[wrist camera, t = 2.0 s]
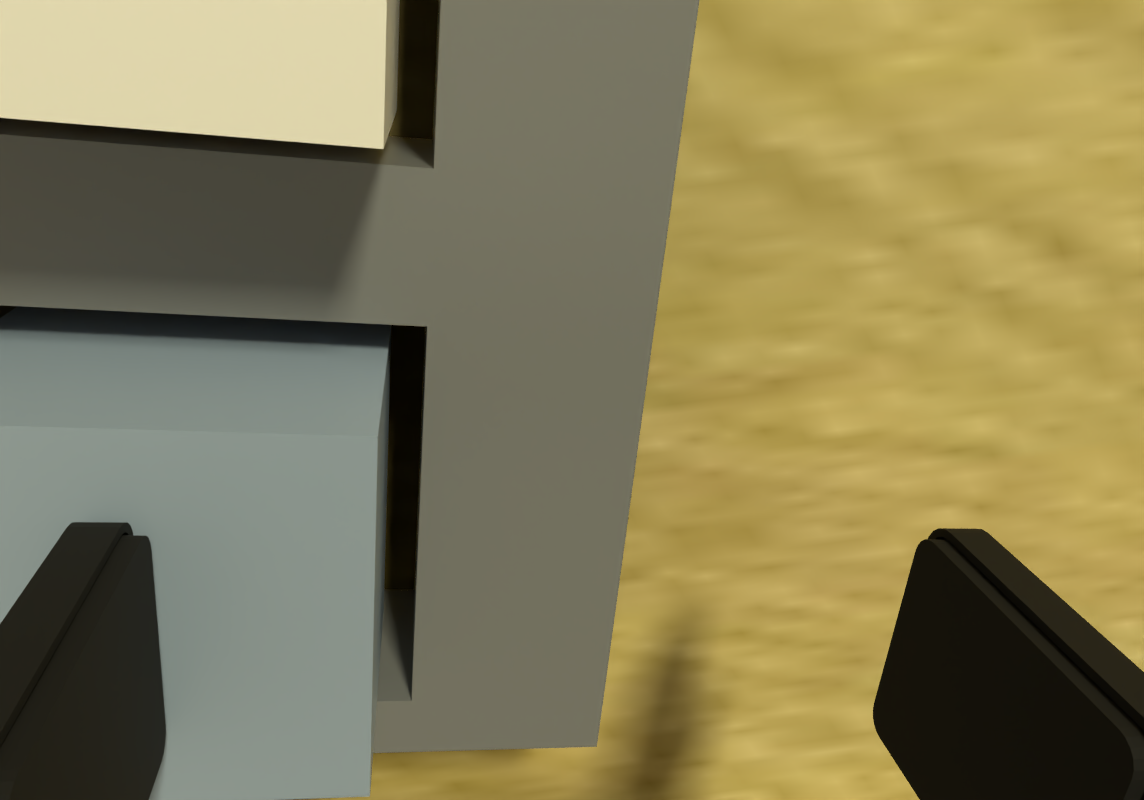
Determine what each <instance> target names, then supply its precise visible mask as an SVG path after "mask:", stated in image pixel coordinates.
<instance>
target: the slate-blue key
mask: <svg viewBox="0 0 1144 800" xmlns="http://www.w3.org/2000/svg"><path fill="white" fill-rule="evenodd" d="M390 356H391V325H386V324H366V323H346V322H326V321H306V320H286V319H266V318H246V317H225V316H205V315H185V314H165V313H145V312H125V311H105V310H85V309H65V308H45V307H24V306H17V307H16V308H14V309H13V310H12V311H10V312H9V313H7V314H6V315H4V316H3V317H1V318H0V623H1V622H2V621H3V619H4V618H5V616H6V615H7V613H8V612H9V610H10V609H11V607H12V606H13V605H14V603H15V602H16V600H17V599H18V597H19V596H20V594H21V593H22V592H23V590H24V589H25V587H26V586H27V584H28V583H29V581H30V580H31V579H32V577H33V576H34V574H35V573H36V571H37V570H38V568H39V567H40V565H41V564H42V563H43V561H44V560H45V558H46V557H47V555H48V554H49V552H50V551H51V550H52V548H53V547H54V545H55V544H56V542H57V541H58V539H59V538H60V536H61V535H62V534H63V532H64V531H65V529H66V528H67V527H68V526H69V525H70V524H71V523H73V522H128V523H129V524H130V525H131V528H132V531H133V535H140V536H148V538H149V540H150V543H151V551H152V563H153V576H154V588H155V600H156V612H157V625H158V637H159V649H160V661H161V674H162V686H163V698H164V710H165V723H166V739H165V748H164V754H163V758H162V762H161V765H160V768H159V771H158V774H157V777H156V780H155V783H154V786H153V789H152V792H151V794H150V797H149V800H286V799H313V798H340V797H367V796H370V788H371V774H372V761H373V747H374V734H375V721H376V707H377V694H378V680H379V667H380V653H381V640H382V627H383V613H384V581H385V543H386V506H387V468H388V431H389V394H390Z"/></svg>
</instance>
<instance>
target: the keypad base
mask: <svg viewBox="0 0 1144 800" xmlns="http://www.w3.org/2000/svg"><path fill="white" fill-rule="evenodd" d="M698 5H699V0H438V20H437V44H436V69H435V93H434V117H433V139H421V138H410V137H398V136H388V138H387V140H386V143H385V146H384V149H376V148H364V147H352V146H340V145H327V144H315V143H303V142H291V141H278V140H266V139H254V138H242V137H230V136H217V135H205V134H193V133H181V132H168V131H156V130H144V129H132V128H120V127H107V126H95V125H83V124H71V123H58V122H46V121H34V120H22V119H10V118H0V318H1V317H3V316H4V315H6V314H7V313H9V312H10V311H12V310H13V309H14V308H16V307H17V306H24V307H45V308H65V309H85V310H105V311H125V312H145V313H165V314H185V315H205V316H225V317H246V318H266V319H286V320H306V321H326V322H346V323H366V324H386V325H406V326H425V338H424V362H423V387H422V411H421V436H420V460H419V485H418V509H417V534H416V558H415V582H414V589H384V613H383V627H382V640H381V653H380V667H379V680H378V694H377V707H376V721H375V734H374V747H373V753H391V752H426V751H460V750H495V749H530V748H565V747H597V741H598V733H599V726H600V719H601V711H602V704H603V697H604V690H605V682H606V675H607V668H608V660H609V653H610V646H611V639H612V631H613V624H614V617H615V610H616V602H617V595H618V588H619V580H620V573H621V566H622V559H623V551H624V544H625V537H626V529H627V522H628V515H629V508H630V500H631V493H632V486H633V479H634V471H635V464H636V457H637V449H638V442H639V435H640V428H641V420H642V413H643V406H644V398H645V391H646V384H647V377H648V369H649V362H650V355H651V348H652V340H653V333H654V326H655V318H656V311H657V304H658V297H659V289H660V282H661V275H662V267H663V260H664V253H665V246H666V238H667V231H668V224H669V217H670V209H671V202H672V195H673V187H674V180H675V173H676V166H677V158H678V151H679V144H680V136H681V129H682V122H683V115H684V107H685V100H686V93H687V86H688V78H689V71H690V64H691V56H692V49H693V42H694V35H695V27H696V20H697V13H698Z"/></svg>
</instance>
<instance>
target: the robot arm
mask: <svg viewBox="0 0 1144 800" xmlns="http://www.w3.org/2000/svg"><path fill="white" fill-rule="evenodd" d="M873 719H874V725H875V728H876V731H877V733H878V735H879V737H880V739H881V740H882V742H883V743H884V745H885V747H886V748H887V750H888V751H889V753H890V754H891V756H892V757H893V759H894V760H895V762H896V764H897V765H898V767H899V768H900V770H901V771H902V773H903V774H904V776H905V777H906V779H907V781H908V782H909V784H910V785H911V787H912V788H913V790H914V791H915V793H916V794H917V796H918V798H919V799H920V800H1144V672H1143V671H1142V670H1141V669H1140V668H1138V667H1137V666H1136V665H1135V664H1134V663H1133V662H1132V661H1131V660H1129V659H1128V658H1127V657H1126V656H1125V655H1124V654H1123V653H1122V652H1121V651H1119V650H1118V649H1117V648H1116V647H1115V646H1114V645H1113V644H1112V643H1110V642H1109V641H1108V640H1107V639H1106V638H1105V637H1104V636H1103V635H1102V634H1100V633H1099V632H1098V631H1097V630H1096V629H1095V628H1094V627H1093V626H1091V625H1090V624H1089V623H1088V622H1087V621H1086V620H1085V619H1084V618H1082V617H1081V616H1080V615H1079V614H1078V613H1077V612H1076V611H1075V610H1074V609H1072V608H1071V607H1070V606H1069V605H1068V604H1067V603H1066V602H1065V601H1063V600H1062V599H1061V598H1060V597H1059V596H1058V595H1057V594H1056V593H1055V592H1053V591H1052V590H1051V589H1050V588H1049V587H1048V586H1047V585H1046V584H1044V583H1043V582H1042V581H1041V580H1040V579H1039V578H1038V577H1037V576H1036V575H1034V574H1033V573H1032V572H1031V571H1030V570H1029V569H1028V568H1027V567H1025V566H1024V565H1023V564H1022V563H1021V562H1020V561H1019V560H1018V559H1016V558H1015V557H1014V556H1013V555H1012V554H1011V553H1010V552H1009V551H1008V550H1006V549H1005V548H1004V547H1003V546H1002V545H1001V544H1000V543H999V542H997V541H996V540H995V539H994V538H993V537H992V536H991V535H990V534H989V533H987V532H985V531H984V530H982V529H937V530H935V531H933V532H932V533H931V535H930V536H929V537H928V539H925V540H923V541H921V542H920V544H919V545H918V547H917V549H916V552H915V555H914V559H913V563H912V566H911V570H910V574H909V577H908V581H907V585H906V588H905V592H904V596H903V599H902V603H901V607H900V610H899V614H898V618H897V621H896V625H895V629H894V632H893V636H892V640H891V643H890V647H889V651H888V654H887V658H886V662H885V665H884V669H883V673H882V676H881V680H880V684H879V687H878V691H877V695H876V698H875V702H874V707H873ZM165 739H166V723H165V710H164V698H163V686H162V674H161V661H160V649H159V637H158V625H157V612H156V600H155V588H154V576H153V563H152V551H151V543H150V540H149V538H148V536H140V535H133V531H132V528H131V525H130V524H129V523H128V522H73V523H71V524H70V525H69V526H68V527H67V528H66V529H65V531H64V532H63V534H62V535H61V536H60V538H59V539H58V541H57V542H56V544H55V545H54V547H53V548H52V550H51V551H50V552H49V554H48V555H47V557H46V558H45V560H44V561H43V563H42V564H41V565H40V567H39V568H38V570H37V571H36V573H35V574H34V576H33V577H32V579H31V580H30V581H29V583H28V584H27V586H26V587H25V589H24V590H23V592H22V593H21V594H20V596H19V597H18V599H17V600H16V602H15V603H14V605H13V606H12V607H11V609H10V610H9V612H8V613H7V615H6V616H5V618H4V619H3V621H2V622H1V623H0V800H149V797H150V794H151V792H152V789H153V786H154V783H155V780H156V777H157V774H158V771H159V768H160V765H161V762H162V758H163V754H164V748H165Z"/></svg>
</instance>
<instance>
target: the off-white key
mask: <svg viewBox="0 0 1144 800" xmlns="http://www.w3.org/2000/svg"><path fill="white" fill-rule="evenodd" d="M399 7H400V0H0V118H10V119H22V120H34V121H46V122H58V123H71V124H83V125H95V126H107V127H120V128H132V129H144V130H156V131H168V132H181V133H193V134H205V135H217V136H230V137H242V138H254V139H266V140H278V141H291V142H303V143H315V144H327V145H340V146H352V147H364V148H376V149H384V146H385V143H386V140H387V138H388V135H389V132H390V129H391V126H392V123H393V120H394V117H395V114H396V112H397V83H398V45H399Z"/></svg>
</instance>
